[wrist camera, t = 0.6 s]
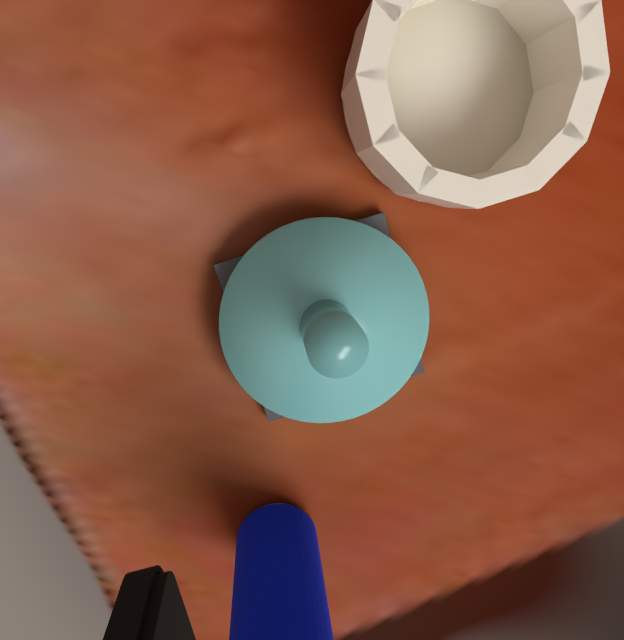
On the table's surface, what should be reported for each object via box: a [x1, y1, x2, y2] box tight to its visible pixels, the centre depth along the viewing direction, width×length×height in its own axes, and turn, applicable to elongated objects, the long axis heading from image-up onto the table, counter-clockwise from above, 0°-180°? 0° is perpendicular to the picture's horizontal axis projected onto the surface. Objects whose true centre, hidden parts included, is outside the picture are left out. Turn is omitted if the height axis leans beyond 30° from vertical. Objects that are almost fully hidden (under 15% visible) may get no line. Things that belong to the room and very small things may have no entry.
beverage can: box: [229, 503, 333, 640], centre depth 25 cm, size 5×5×15 cm
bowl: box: [341, 0, 610, 209], centre depth 24 cm, size 12×12×5 cm
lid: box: [219, 217, 429, 423], centre depth 26 cm, size 12×12×6 cm
